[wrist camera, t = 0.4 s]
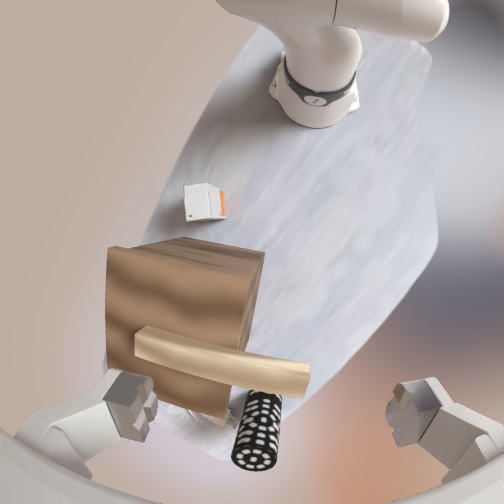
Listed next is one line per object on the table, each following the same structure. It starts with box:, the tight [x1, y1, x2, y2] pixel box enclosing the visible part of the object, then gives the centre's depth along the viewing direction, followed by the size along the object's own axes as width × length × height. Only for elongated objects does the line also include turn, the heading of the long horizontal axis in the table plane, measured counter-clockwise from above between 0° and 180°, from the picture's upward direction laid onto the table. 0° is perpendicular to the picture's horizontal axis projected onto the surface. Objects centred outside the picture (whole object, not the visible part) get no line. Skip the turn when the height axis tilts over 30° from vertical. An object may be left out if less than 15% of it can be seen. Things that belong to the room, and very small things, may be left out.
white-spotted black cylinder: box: [231, 390, 282, 471], centre depth 50 cm, size 8×8×20 cm
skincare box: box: [183, 183, 226, 222], centre depth 49 cm, size 6×4×12 cm
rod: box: [135, 325, 310, 399], centre depth 30 cm, size 3×20×3 cm, turn 80°
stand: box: [105, 237, 265, 419], centre depth 45 cm, size 20×18×26 cm
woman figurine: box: [187, 408, 239, 429], centre depth 60 cm, size 12×4×18 cm
